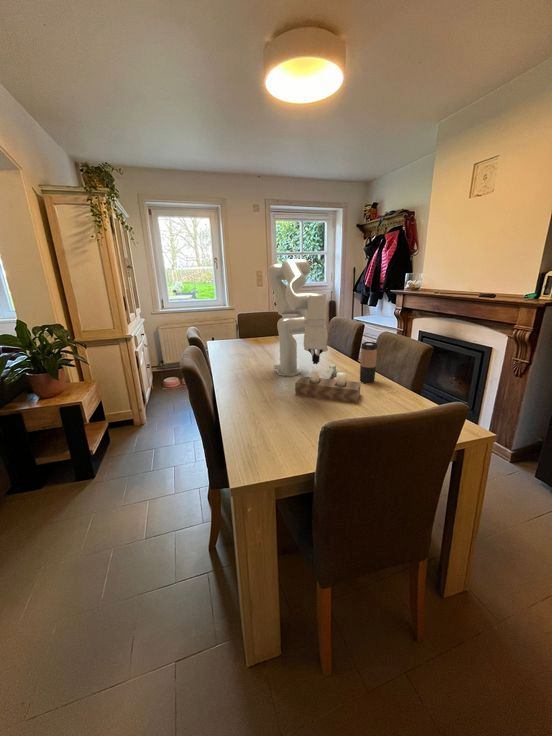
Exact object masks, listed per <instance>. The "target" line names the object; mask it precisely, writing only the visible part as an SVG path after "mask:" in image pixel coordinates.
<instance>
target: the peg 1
mask: <svg viewBox="0 0 552 736" xmlns="http://www.w3.org/2000/svg"><path fill="white" fill-rule="evenodd" d="M320 371H321V370H319V369H311V370H310V377H311V383H319V378H320Z"/></svg>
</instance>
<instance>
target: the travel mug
mask: <svg viewBox="0 0 552 736" xmlns="http://www.w3.org/2000/svg"><path fill="white" fill-rule="evenodd" d="M360 349H361V350H360V361H359V362H360V363H359V365H360V366H359V382H360V381H361V383H362V382H363V383H362V384H366V383H371V384H374V383H375V378H376V370H377V355H378V343H377V342H376V341H375V342H374V341H364V342H363V343H361V347H360ZM373 382H374V383H373Z"/></svg>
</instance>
